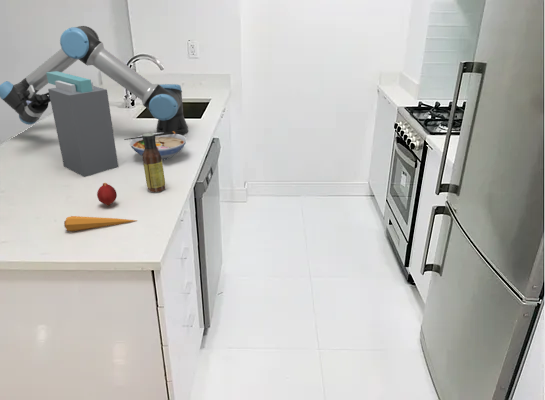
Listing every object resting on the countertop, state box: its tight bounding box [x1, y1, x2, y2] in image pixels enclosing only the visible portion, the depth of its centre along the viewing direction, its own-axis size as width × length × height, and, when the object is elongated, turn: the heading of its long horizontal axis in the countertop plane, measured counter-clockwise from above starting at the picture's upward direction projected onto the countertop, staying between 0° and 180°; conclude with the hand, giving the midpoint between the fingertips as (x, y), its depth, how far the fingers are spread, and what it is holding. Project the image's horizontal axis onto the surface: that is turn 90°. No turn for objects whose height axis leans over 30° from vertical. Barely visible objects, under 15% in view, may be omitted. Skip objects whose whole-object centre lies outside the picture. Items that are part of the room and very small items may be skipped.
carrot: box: [63, 215, 138, 232], centre depth 128 cm, size 20×4×4 cm, turn 109°
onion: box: [96, 182, 118, 207], centre depth 139 cm, size 6×6×8 cm
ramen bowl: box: [123, 130, 187, 161], centre depth 180 cm, size 25×23×8 cm
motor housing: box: [48, 81, 119, 178], centre depth 164 cm, size 16×14×32 cm
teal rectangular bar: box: [46, 71, 92, 93], centre depth 161 cm, size 26×4×4 cm, turn 49°
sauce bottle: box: [142, 132, 166, 193], centre depth 148 cm, size 7×6×20 cm
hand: (50, 85), depth 171 cm, fingers open, 13 cm apart
